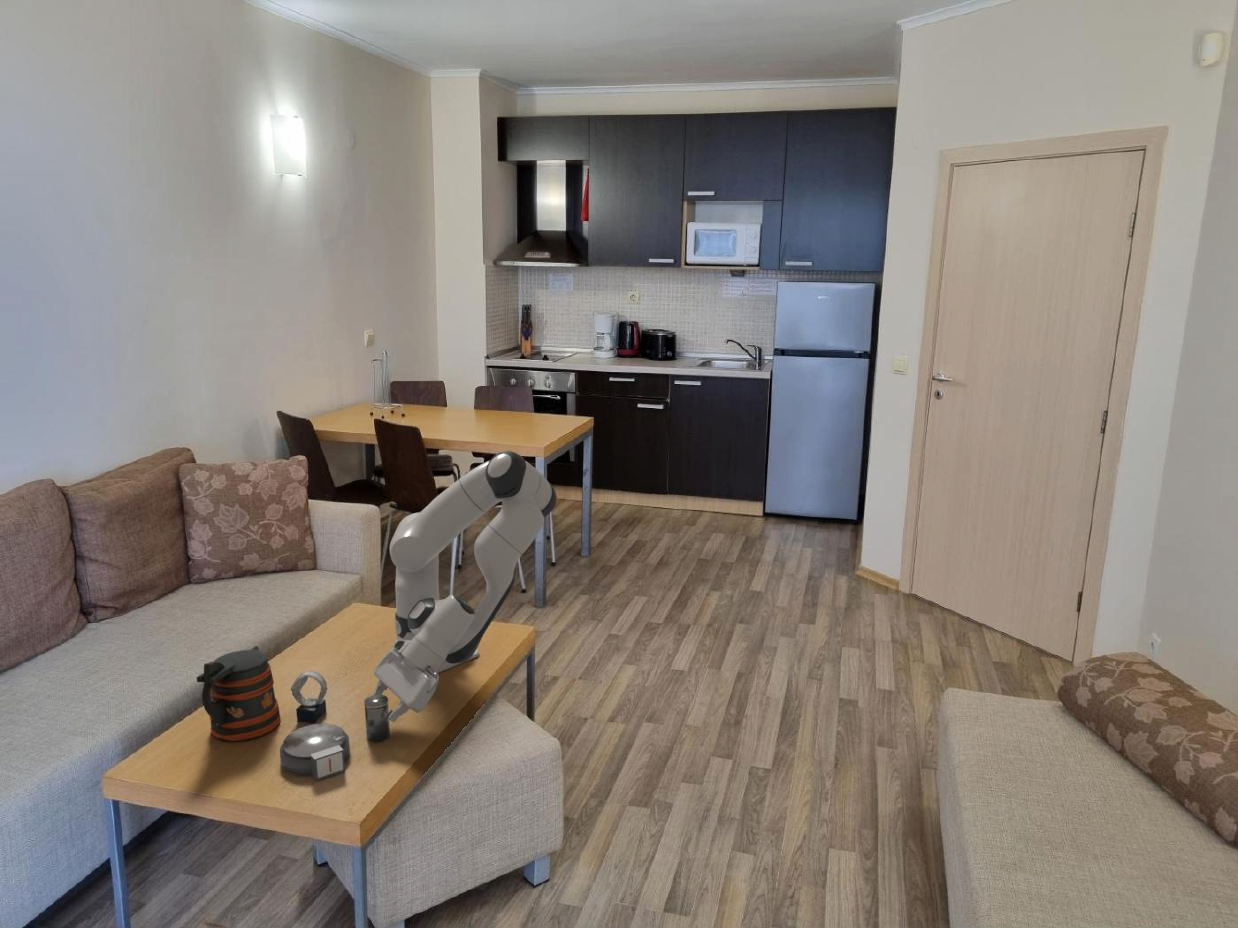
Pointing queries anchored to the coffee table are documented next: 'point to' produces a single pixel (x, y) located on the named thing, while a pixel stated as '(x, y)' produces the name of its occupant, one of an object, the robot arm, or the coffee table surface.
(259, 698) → the beer stein
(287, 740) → the pan
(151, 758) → the coffee table surface
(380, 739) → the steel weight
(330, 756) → the scale
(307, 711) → the watch
